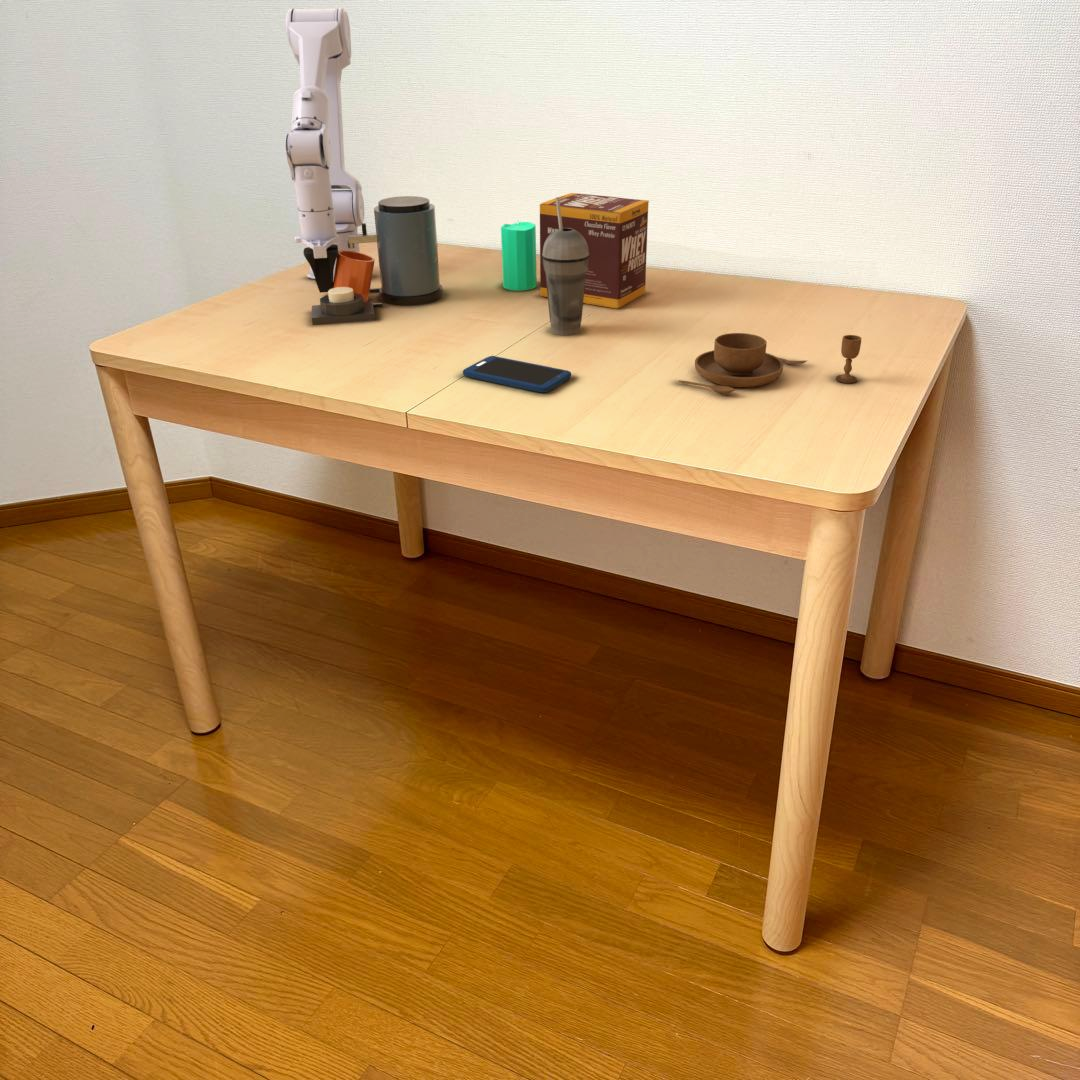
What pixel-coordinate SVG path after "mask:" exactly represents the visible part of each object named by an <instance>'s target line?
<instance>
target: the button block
mask: <svg viewBox="0 0 1080 1080" xmlns="http://www.w3.org/2000/svg"><path fill="white" fill-rule="evenodd" d="M373 304H374V301H373V300H371V301H370V300H368V301H366V302H363V296H362V295H360V294H357V293H354V300H353V301H349V302H344V303H334V302H329V295H328V294H325V295H324V296H321V297H320V298H319V304H315V305H311V325H312V326H319V325H333V324H347V323H361V322H373V321H376V313H375V308H374V306H373Z"/></svg>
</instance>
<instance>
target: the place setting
mask: <svg viewBox="0 0 1080 1080" xmlns="http://www.w3.org/2000/svg"><path fill="white" fill-rule="evenodd" d="M862 339H863V338H862V337H861V336H859V335H857V334H856V335H855V334H845V335H843V336H842V339H841V345H840V346H841V347H840V351H841V353H840V354H841V356H842V358H844V359H845V364H844V366H843V371H844V373H843V374H838V375H837V376H835V380H836V381H837V382H838V383H842V384H855V383H857V382H858V378H857V377H856V376H854V375H851V374H850V373H851V372H852V370H853V366H852V362H853V359H856V358H857V357H859V354H860V351H861V347H862ZM767 345H768V344H767V341H766V339H765V338H764V337H762V336H761V335H760V336H759V335H756V334H753V333H746V332H731V333H725V334H720V335H719V336H717V337H715V339H714V346H713V350H708V351H706V352H703V353H701V354H699V355H698V356H696V357H695V359H694V368H695V370H696V373H697V374H698V375H699V376H700V377H702V378H703V379H704V380H706V381H708V382H711V383H713V384H715V385H713V384H706V383H701V382H700V383H699V382H694V381H689V380H678V381H677V383H682V384H686V385H694V386H700V387H705V388H710V389H711V390H712V391H714V392H716V393H721V394H731V393H733V392H735V388H755V387H759V386H764V385H767V384H769V383H772V382H774V381H776V380H777V379H778V378H779V377H780V376H781V374H782V373H783V369H784V363H785V364H788V365H801V364H805V363H807V362H808V360H788V359H785V358H783V357H782V358H781V357H777V356H775V355H774V354H771V353H768V352H767ZM783 362H784V363H783Z"/></svg>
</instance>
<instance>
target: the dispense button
mask: <svg viewBox="0 0 1080 1080" xmlns="http://www.w3.org/2000/svg"><path fill="white" fill-rule="evenodd" d="M327 295H329V302H334V303H344V302H349V301H353V300H354V293H353V289H352V288H349V287H337V288H332V289H330V290H329V291H328V292H327Z"/></svg>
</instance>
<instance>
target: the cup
mask: <svg viewBox="0 0 1080 1080" xmlns="http://www.w3.org/2000/svg"><path fill="white" fill-rule="evenodd" d="M374 268H375V257H373V256H371V255H368V254H366V253H362V252H360V253H359V252H354V251H347V250H340V251H338V255H337V258H336V265H335V272H334V278H333V288H337V287H349V288H352V289H353V293H357V294H360V295H362V296H363V302H369V298H370V293H369V292H370V289H371V286H372V285H371V284H372V280H373V279H372V278H373V273H374Z"/></svg>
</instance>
